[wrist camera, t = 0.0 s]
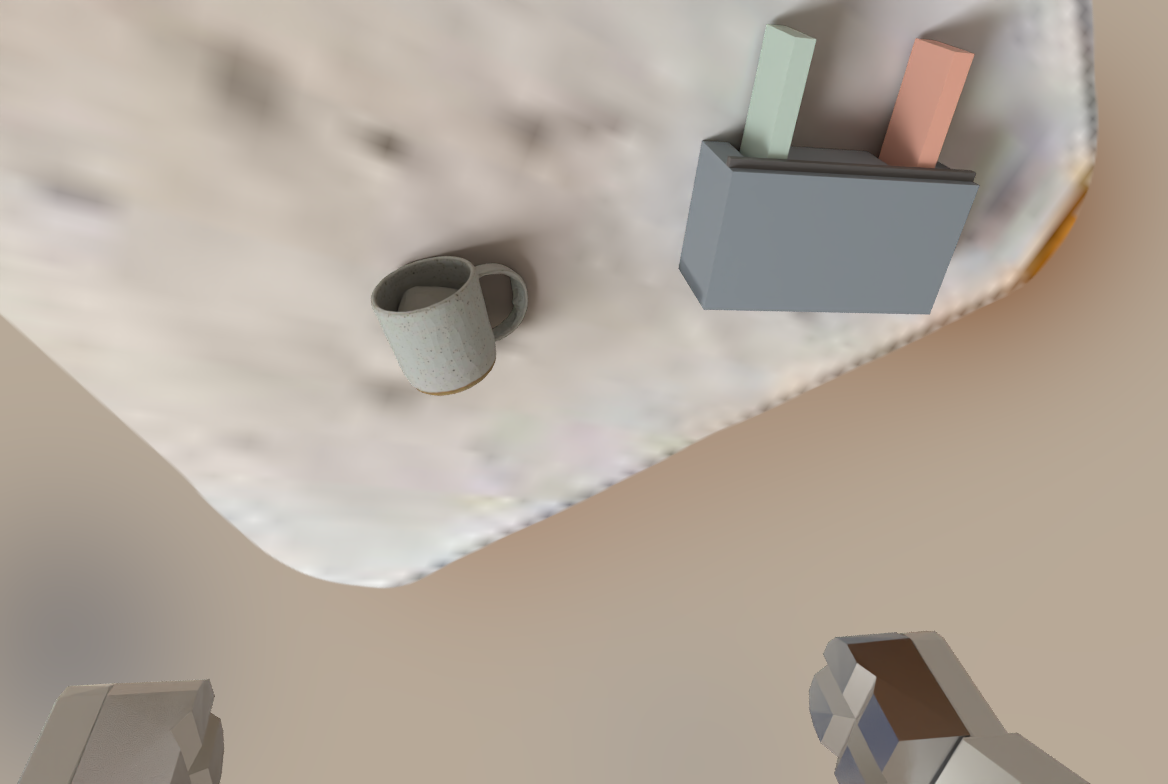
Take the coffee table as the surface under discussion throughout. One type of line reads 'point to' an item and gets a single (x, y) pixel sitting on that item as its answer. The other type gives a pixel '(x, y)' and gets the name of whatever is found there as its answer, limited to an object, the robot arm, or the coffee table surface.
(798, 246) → the grey rectangular block
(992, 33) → the coffee table surface
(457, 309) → the ceramic mug
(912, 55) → the pink stick
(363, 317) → the coffee table surface
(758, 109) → the mint green upright slab
